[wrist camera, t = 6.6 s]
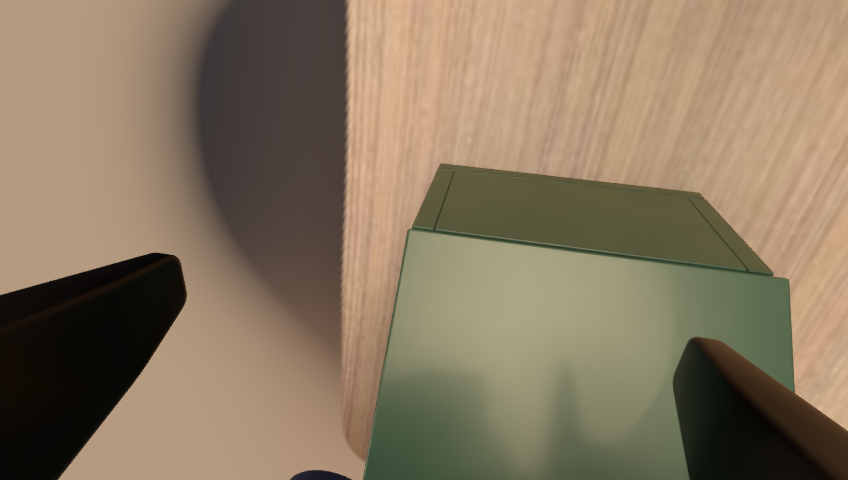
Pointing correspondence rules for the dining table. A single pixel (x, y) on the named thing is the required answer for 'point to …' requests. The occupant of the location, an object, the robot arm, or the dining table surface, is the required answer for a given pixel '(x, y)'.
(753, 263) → the tea tin
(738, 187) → the dining table surface
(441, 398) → the tin lid
